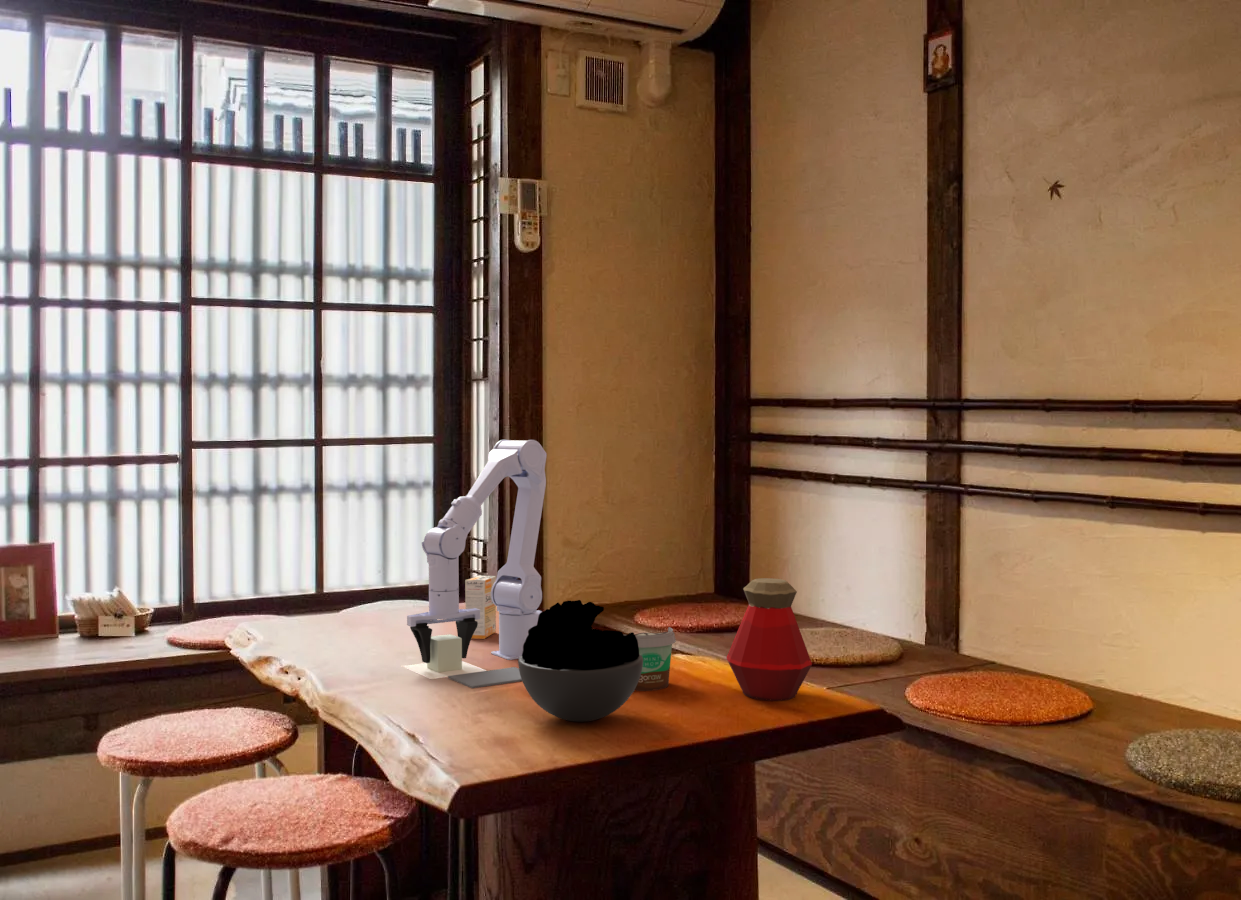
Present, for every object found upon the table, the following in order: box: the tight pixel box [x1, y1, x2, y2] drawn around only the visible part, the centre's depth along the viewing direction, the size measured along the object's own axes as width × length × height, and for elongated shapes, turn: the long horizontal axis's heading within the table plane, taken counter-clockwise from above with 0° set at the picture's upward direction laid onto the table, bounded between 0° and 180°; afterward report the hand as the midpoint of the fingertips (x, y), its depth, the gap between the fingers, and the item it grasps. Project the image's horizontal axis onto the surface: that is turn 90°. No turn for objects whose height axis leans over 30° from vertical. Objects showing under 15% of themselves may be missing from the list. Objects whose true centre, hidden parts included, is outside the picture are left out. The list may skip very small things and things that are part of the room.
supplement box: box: [464, 575, 497, 640], centre depth 260 cm, size 8×5×13 cm, turn 168°
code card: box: [401, 660, 488, 680], centre depth 225 cm, size 12×14×1 cm
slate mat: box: [447, 666, 522, 689], centre depth 216 cm, size 14×10×1 cm
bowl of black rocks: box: [517, 599, 643, 723], centre depth 186 cm, size 20×20×19 cm
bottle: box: [726, 577, 813, 702], centre depth 203 cm, size 16×14×20 cm
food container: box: [623, 626, 677, 692], centre depth 209 cm, size 12×6×10 cm, turn 118°
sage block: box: [427, 633, 463, 672], centre depth 224 cm, size 5×5×6 cm
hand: (444, 659), depth 225 cm, fingers open, 7 cm apart
